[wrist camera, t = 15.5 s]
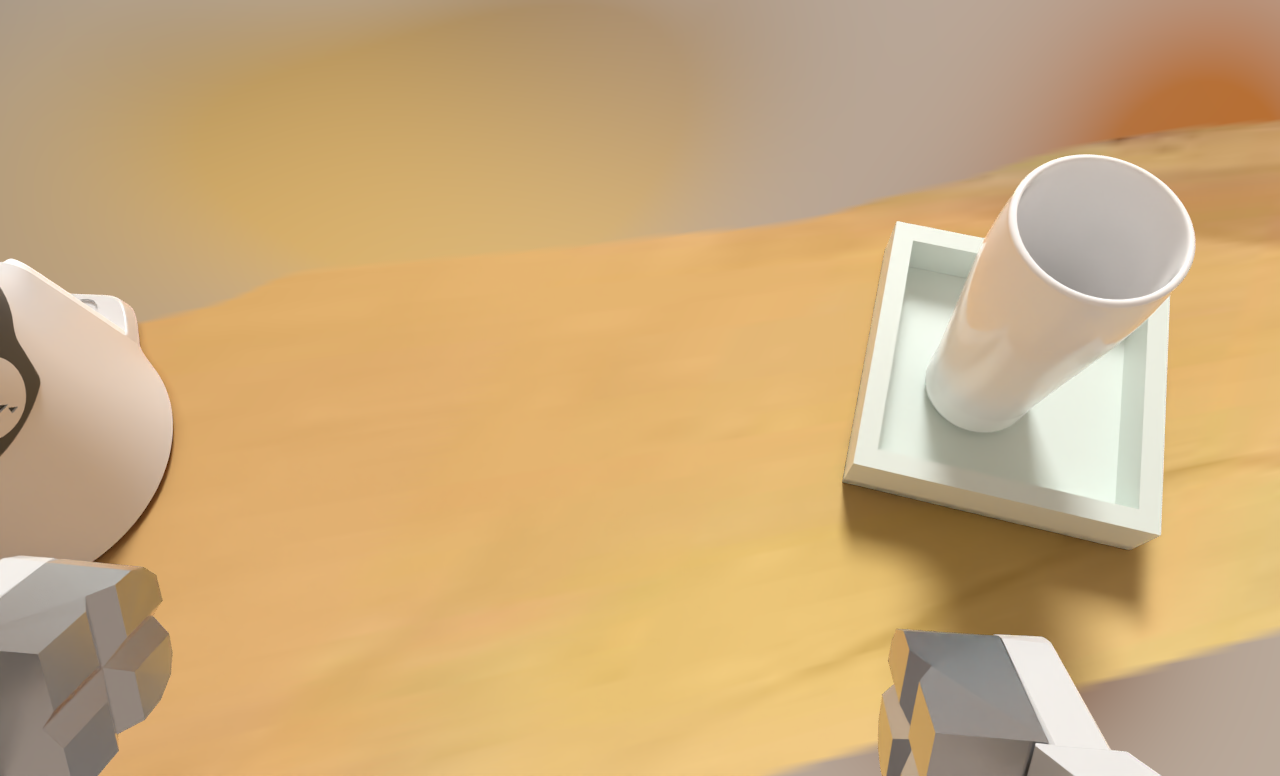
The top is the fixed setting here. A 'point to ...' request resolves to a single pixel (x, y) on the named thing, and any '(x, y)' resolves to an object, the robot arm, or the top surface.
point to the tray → (1029, 449)
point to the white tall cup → (1057, 287)
